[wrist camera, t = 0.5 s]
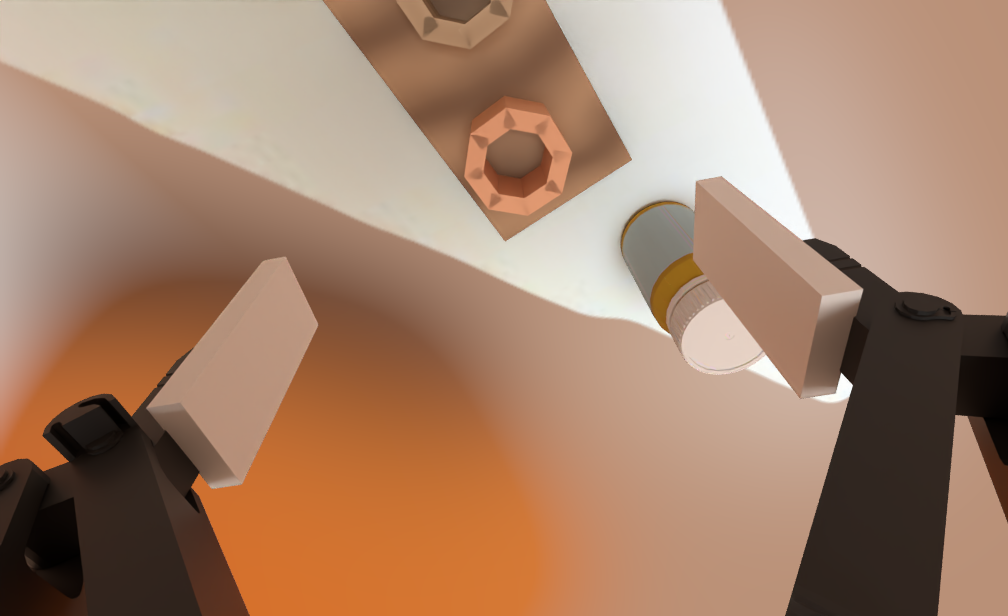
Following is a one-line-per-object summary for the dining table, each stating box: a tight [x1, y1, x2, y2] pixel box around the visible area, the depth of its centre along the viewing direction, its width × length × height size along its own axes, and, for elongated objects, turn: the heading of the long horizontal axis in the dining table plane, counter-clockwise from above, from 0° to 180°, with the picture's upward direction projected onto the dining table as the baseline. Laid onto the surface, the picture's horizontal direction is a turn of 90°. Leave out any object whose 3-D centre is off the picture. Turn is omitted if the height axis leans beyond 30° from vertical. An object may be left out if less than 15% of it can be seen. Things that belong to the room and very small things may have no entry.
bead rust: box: [464, 96, 572, 216], centre depth 36 cm, size 7×7×4 cm
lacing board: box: [323, 0, 632, 241], centre depth 35 cm, size 22×12×1 cm, turn 35°
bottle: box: [621, 202, 766, 375], centre depth 37 cm, size 7×7×15 cm
